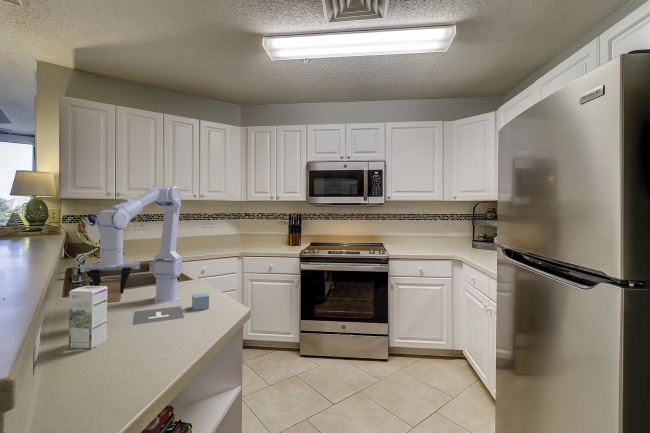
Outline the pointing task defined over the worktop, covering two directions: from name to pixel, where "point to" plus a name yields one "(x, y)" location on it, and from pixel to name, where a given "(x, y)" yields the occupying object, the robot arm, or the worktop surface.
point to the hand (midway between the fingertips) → (110, 293)
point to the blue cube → (200, 301)
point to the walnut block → (112, 289)
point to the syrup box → (87, 316)
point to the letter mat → (157, 315)
